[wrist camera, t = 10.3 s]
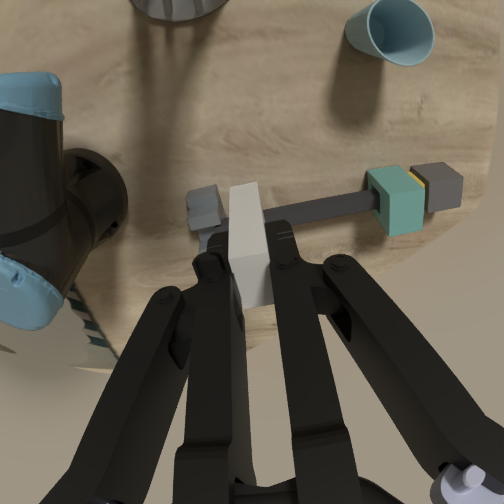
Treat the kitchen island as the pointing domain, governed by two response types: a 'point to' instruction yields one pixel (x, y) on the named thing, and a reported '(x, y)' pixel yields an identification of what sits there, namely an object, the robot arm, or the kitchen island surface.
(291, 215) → the dark grey long bar
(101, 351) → the kitchen island surface
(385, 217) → the sleeve
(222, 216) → the grey stepped brick
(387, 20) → the cup
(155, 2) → the grey lattice tower
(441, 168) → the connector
